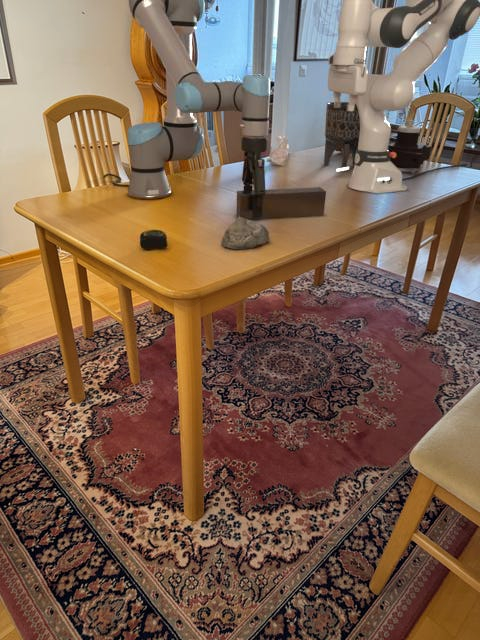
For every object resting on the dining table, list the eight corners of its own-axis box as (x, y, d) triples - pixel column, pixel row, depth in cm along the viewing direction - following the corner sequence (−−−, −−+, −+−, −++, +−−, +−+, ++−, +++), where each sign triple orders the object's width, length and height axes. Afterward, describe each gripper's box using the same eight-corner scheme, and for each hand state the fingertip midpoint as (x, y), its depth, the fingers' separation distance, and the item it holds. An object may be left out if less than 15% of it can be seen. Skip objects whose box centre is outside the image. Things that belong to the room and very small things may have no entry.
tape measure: (140, 252, 115) (139, 238, 113) (141, 242, 120) (140, 229, 119) (167, 251, 116) (166, 237, 114) (167, 241, 121) (166, 228, 120)
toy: (334, 147, 234) (333, 142, 247) (337, 160, 237) (336, 154, 250) (356, 140, 231) (354, 135, 243) (359, 153, 234) (356, 147, 246)
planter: (313, 167, 208) (319, 103, 195) (331, 160, 222) (338, 101, 209) (353, 173, 199) (362, 107, 185) (369, 166, 213) (379, 104, 199)
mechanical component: (377, 119, 195) (405, 114, 215) (369, 169, 206) (397, 160, 225) (427, 124, 183) (452, 118, 203) (415, 177, 194) (441, 167, 213)
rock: (255, 233, 128) (256, 211, 124) (276, 242, 122) (278, 219, 119) (217, 244, 120) (217, 220, 117) (239, 254, 115) (239, 230, 111)
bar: (317, 211, 149) (320, 187, 145) (323, 215, 145) (326, 191, 141) (236, 215, 143) (236, 190, 139) (240, 220, 139) (240, 195, 135)
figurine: (292, 163, 215) (294, 134, 209) (276, 168, 204) (278, 138, 198) (278, 161, 219) (279, 133, 212) (261, 166, 208) (262, 136, 202)
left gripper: (232, 130, 139) (232, 201, 150) (252, 143, 119) (250, 223, 130) (256, 130, 141) (254, 200, 152) (279, 142, 121) (275, 222, 132)
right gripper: (376, 59, 128) (368, 113, 135) (344, 58, 145) (339, 106, 152) (355, 59, 126) (348, 113, 133) (326, 58, 144) (321, 106, 150)
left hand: (252, 211), depth 141 cm, fingers open, 11 cm apart
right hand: (343, 109), depth 143 cm, fingers open, 8 cm apart
